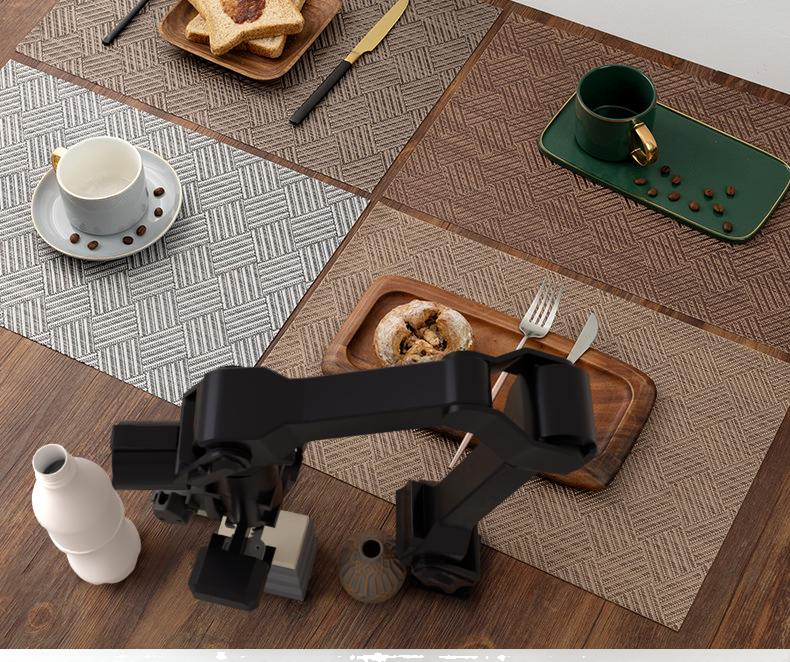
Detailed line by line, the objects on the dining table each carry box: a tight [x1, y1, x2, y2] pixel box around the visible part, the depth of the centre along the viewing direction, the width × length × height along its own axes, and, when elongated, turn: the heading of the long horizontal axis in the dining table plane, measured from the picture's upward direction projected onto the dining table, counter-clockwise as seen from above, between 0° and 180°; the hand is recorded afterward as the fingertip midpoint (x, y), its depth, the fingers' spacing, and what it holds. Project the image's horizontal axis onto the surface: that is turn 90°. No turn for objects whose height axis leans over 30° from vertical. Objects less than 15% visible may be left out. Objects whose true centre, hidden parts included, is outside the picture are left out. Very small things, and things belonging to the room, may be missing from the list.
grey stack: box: [263, 517, 319, 602], centre depth 113 cm, size 8×6×9 cm, turn 77°
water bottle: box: [31, 443, 142, 586], centre depth 107 cm, size 7×7×25 cm
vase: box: [337, 528, 408, 604], centre depth 113 cm, size 7×7×9 cm
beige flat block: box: [217, 509, 310, 569], centre depth 109 cm, size 8×5×1 cm, turn 77°
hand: (262, 533), depth 109 cm, fingers closed on beige flat block, 5 cm apart
